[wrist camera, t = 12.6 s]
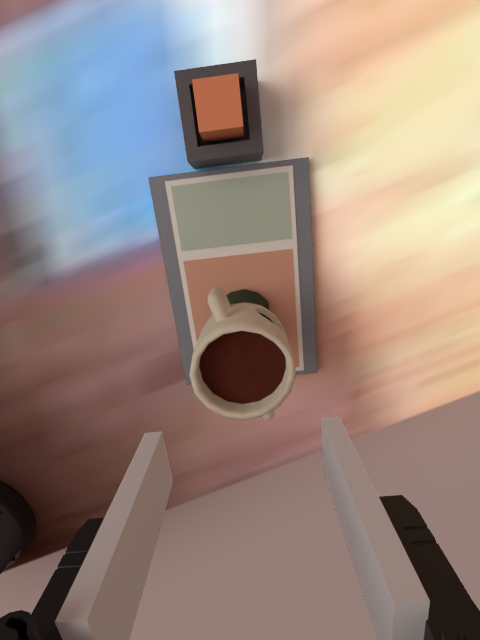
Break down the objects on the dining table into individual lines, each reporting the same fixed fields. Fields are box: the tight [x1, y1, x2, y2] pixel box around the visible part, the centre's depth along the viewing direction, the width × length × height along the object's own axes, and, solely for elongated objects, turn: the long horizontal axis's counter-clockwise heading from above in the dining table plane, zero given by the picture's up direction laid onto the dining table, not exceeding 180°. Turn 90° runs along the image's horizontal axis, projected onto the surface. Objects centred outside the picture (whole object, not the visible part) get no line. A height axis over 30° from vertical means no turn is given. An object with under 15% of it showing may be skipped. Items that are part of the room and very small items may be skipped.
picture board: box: [149, 157, 317, 385], centre depth 32 cm, size 15×22×1 cm
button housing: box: [174, 60, 263, 169], centre depth 26 cm, size 6×6×4 cm
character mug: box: [189, 286, 296, 420], centre depth 26 cm, size 11×7×13 cm, turn 23°
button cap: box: [192, 73, 243, 142], centre depth 24 cm, size 3×3×3 cm
